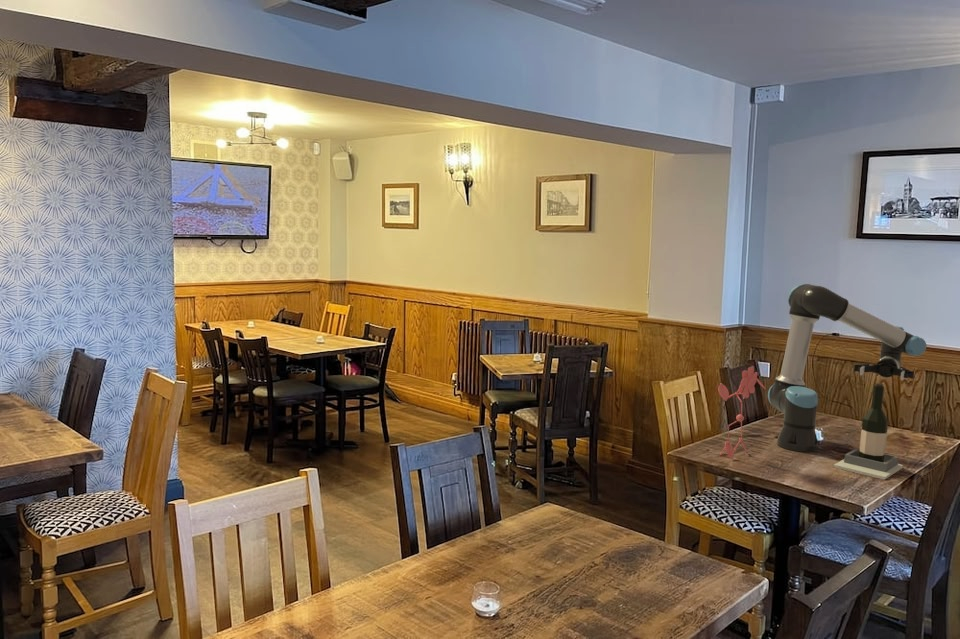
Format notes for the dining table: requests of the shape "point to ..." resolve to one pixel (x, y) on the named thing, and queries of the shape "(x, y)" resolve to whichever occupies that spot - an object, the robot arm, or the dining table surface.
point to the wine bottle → (874, 428)
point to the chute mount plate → (869, 465)
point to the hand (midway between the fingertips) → (881, 374)
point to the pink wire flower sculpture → (747, 388)
